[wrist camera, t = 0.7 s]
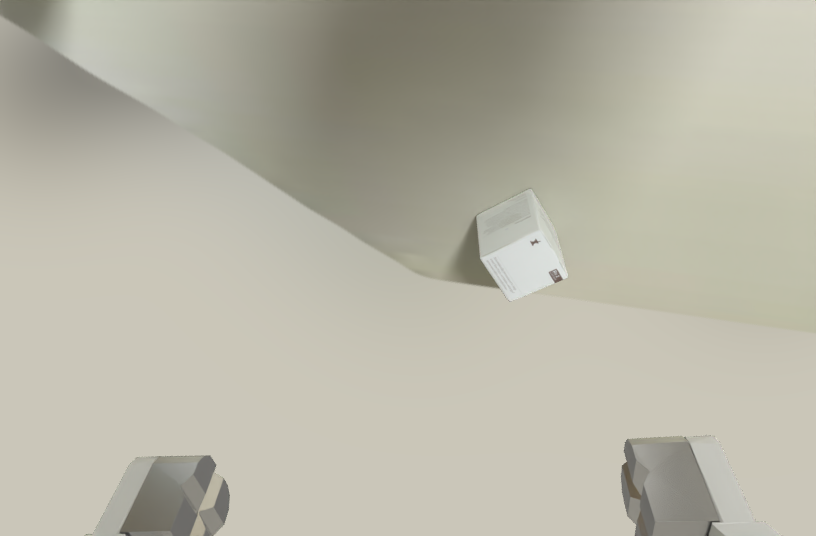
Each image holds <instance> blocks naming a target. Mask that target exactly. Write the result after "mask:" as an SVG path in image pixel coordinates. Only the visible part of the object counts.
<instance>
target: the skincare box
mask: <svg viewBox="0 0 816 536" xmlns="http://www.w3.org/2000/svg"><path fill="white" fill-rule="evenodd" d="M476 221H477V232H478V243H479V254H480V260H481V261H482V263H483V264H484V266H485V267H486V269H487V270H488V272H489V273H490V275H491V276H492V278H493V279H494V281H495V282H496V284H497V285H498V286H499V288H500V289H501V291H502V292H503V294H504V295H505V297H506V298H507V299H508V301H509V302H511V301H514V300H516V299H519V298H521V297H524V296H526V295H528V294H531V293H533V292H535V291H537V290H540V289H542V288H545V287H547V286H550V285H552V284H554V283H556V282H559V281H561V280H564V279H566V278H568V273H567V270H566V266H565V263H564V259H563V255H562V252H561V248H560V244H559V241H558V237H557V232H556V230H555V228H554V226H553V224H552V223H551V221H550V219H549V217H548V216H547V214H546V212H545V210H544V209H543V207H542V205H541V204H540V202H539V200H538V199H537V197H536V195H535V194H534V192H533V191H532V189H528V190H526V191H524V192H522V193H520V194H518V195H516V196H514V197H512V198H510V199H508V200H506V201H504V202H502V203H500V204H498V205H496V206H494V207H492V208H490V209H488V210H486V211H484V212H482V213H480V214H478V215H477V216H476Z"/></svg>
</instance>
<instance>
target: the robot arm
mask: <svg viewBox="0 0 816 536" xmlns="http://www.w3.org/2000/svg"><path fill="white" fill-rule="evenodd" d="M624 453H625V457H626V460H627V462H626V463H624V464H623V465H622V473H621V482H622V493H623V498H624V504H625V508H626V512H627V516H628V517H629V518H630V519H631V520H632V521H633V522H634V523H635V524H636V530H635V536H782V535H781V534H780V533H778V532H777V531H776V530H775V529H774V528H772V527H771V526H770V525H769V524H768V523H766V522H756V521H755V518H754V516H753V514H752V512H751V509H750V507H749V505H748V503H747V501H746V498H745V496H744V494H743V492H742V490H741V488H740V486H739V483H738V481H737V479H736V477H735V475H734V472H733V470H732V468H731V466H730V464H729V461H728V459H727V457H726V455H725V453H724V451H723V448H722V446H721V444H720V442H719V441H718V440H717V439H716V438H715V436H711V435H710V436H694V437H682V436H675V437H657V438H656V437H655V438H637V439H627V440H626V442H625V447H624ZM215 467H216V464H215V462H214V461H213V459H212V458H211V456H167V457H166V456H165V457H162V456H156V457H137V458H136V459H135V460H134V461H132V462H131V463H130V465H129V466H128V468H127V470H126V472H125V474H124V476H123V477H122V479H121V481H120V483H119V485H118V487H117V489H116V491H115V493H114V495H113V497H112V498H111V500H110V502H109V504H108V506H107V508H106V510H105V512H104V514H103V515H102V517H101V519H100V521H99V523H98V525H97V527H96V529H95V531H94V533H93V534H86V535H85V536H213V535H214V534H215V533H216V532H217V531H218V530H219V529H220V528H221V527H222V526H223V525H224V523H225V520H226V517H227V513H228V510H229V496H230V495H229V490H228V485H227V484H226V481H225V480H224V478H223V477H221V476H219V475H217V474H216V473H214V470H215Z"/></svg>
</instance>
